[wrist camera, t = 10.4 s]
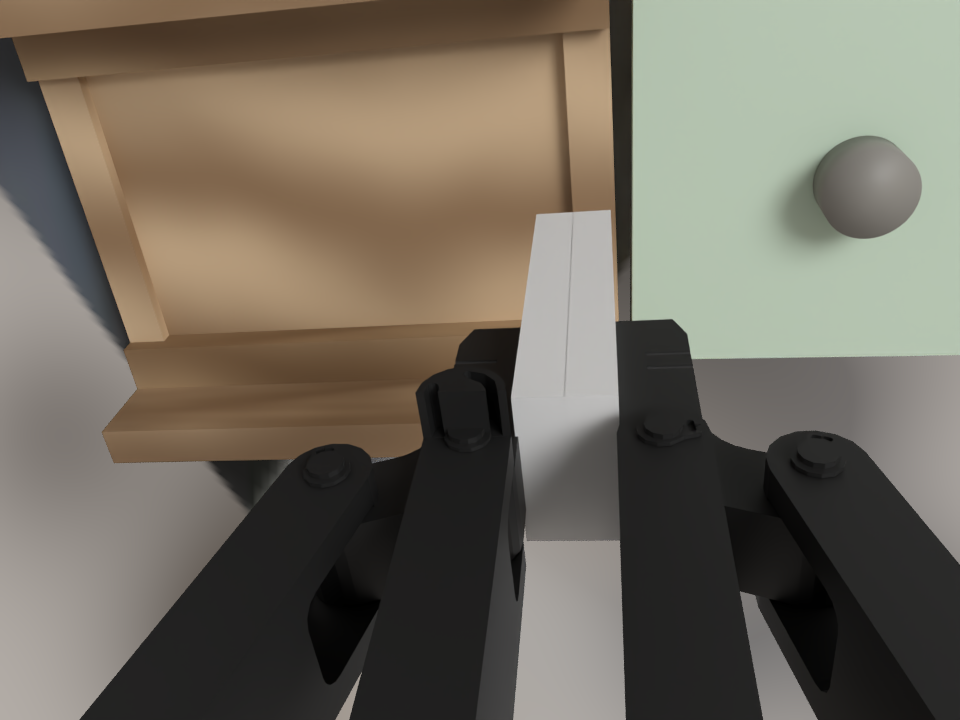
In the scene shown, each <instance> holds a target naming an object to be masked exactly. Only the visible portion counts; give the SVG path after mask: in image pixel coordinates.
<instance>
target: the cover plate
mask: <svg viewBox="0 0 960 720" xmlns="http://www.w3.org/2000/svg"><path fill="white" fill-rule="evenodd" d="M662 319H673V320H674V321H675V322H676V323H677V324H678V325H679V326H680V327H681V328H682V329H683V330H684V331H685V332H686V333H687V335H688V341H689V347H690V354H691V358H692V359H726V358H727V359H728V358H729V359H730V358H792V357H793V358H796V357H797V358H799V357H867V356H868V357H869V356H932V355H933V356H938V355H960V0H632V32H631V259H630V321H638V320H662Z"/></svg>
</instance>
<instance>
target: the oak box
mask: <svg viewBox="0 0 960 720" xmlns="http://www.w3.org/2000/svg"><path fill="white" fill-rule="evenodd" d="M9 37H12V40H13V43H14V46H15V48H16V51H17V54H18V57H19V60H20V62H21V65H22V68H23V71H24V74H25V76H26V79H27V82H31V81H39V84H40V87H41V90H42V93H43V95H44V98H45V101H46V104H47V107H48V110H49V113H50V115H51V118H52V121H53V124H54V127H55V130H56V132H57V135H58V138H59V141H60V144H61V147H62V149H63V152H64V155H65V158H66V161H67V164H68V167H69V169H70V172H71V175H72V178H73V181H74V184H75V186H76V189H77V192H78V195H79V198H80V201H81V204H82V206H83V209H84V212H85V215H86V218H87V221H88V223H89V226H90V229H91V232H92V235H93V238H94V240H95V243H96V246H97V249H98V252H99V255H100V258H101V260H102V263H103V266H104V269H105V272H106V275H107V277H108V280H109V283H110V286H111V289H112V292H113V294H114V297H115V300H116V303H117V306H118V309H119V312H120V314H121V317H122V320H123V323H124V326H125V329H126V331H127V334H128V337H129V340H130V344H129V345H128V346H127V347H126V348H125V349H124V353H125V356H126V358H127V361H128V364H129V367H130V370H131V372H132V375H133V378H134V381H135V384H136V386H137V390H136V391H135V393H134V394H133V395H132V396H131V397H130V398H129V400H128V401H127V402H126V403H125V404H124V406H123V407H122V408H121V409H120V411H119V412H118V413H117V414H116V415H115V417H114V418H113V419H112V420H111V421H110V423H109V424H108V425H107V426H106V427H105V429H104V430H103V431H102V434H103V437H104V439H105V442H106V444H107V447H108V449H109V452H110V454H111V457H112V459H113V462H114V463H136V462H183V461H233V460H280V459H296V458H297V457H298V456H299V455H301V454H303V453H305V452H307V451H309V450H311V449H313V448H316V447H320V446H324V445H329V444H350V445H353V446H357V447H360V448H362V449H363V450H364V451H365V452H366V453H368V454H369V455H370V458H375V457H400V456H404V455H407V454H409V453H411V452H413V451H415V450H417V449H419V448H421V446H422V442H423V433H422V428H421V422H420V417H419V411H418V405H417V400H416V394H415V392H416V391H417V389H418V388H419V386H420V384H421V383H422V382H423V381H425V380H426V379H428V378H429V377H431V376H432V375H434V374H436V373H439V372H442V371H444V370H447V369H451V368H454V364H455V360H456V356H457V352H458V348H459V344H460V343H461V342H462V341H463V340H464V339H465V338H466V337H467V336H468V335H469V334H470V333H471V332H472V331H473V330H474V329H493V328H518V327H521V322H522V315H523V308H524V300H525V293H526V286H527V279H528V272H529V264H530V257H531V250H532V243H533V236H534V228H535V221H536V214H550V213H566V212H583V211H599V210H611V229H612V252H613V276H614V300H615V321H619V311H618V279H617V247H616V216H615V184H614V152H613V120H612V88H611V56H610V16H609V0H0V38H9Z"/></svg>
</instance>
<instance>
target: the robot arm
mask: <svg viewBox="0 0 960 720" xmlns="http://www.w3.org/2000/svg"><path fill="white" fill-rule="evenodd" d="M415 394H416V400H417V405H418V411H419V417H420V422H421V428H422V433H423V442H422V446H421V448H419V449H417V450H415V451H413V452H411V453H409V454H407V455H404V456H400V457H397V458H394V459H390V460H385V461H381V462H377V463H373V464H372V462H371V458H370V455H369V454H368V453H366V452H365V451H364V450H363V449H362V448H360V447H357V446H353V445H350V444H329V445H324V446H320V447H316V448H313V449H311V450H309V451H307V452H305V453H303V454H301V455H299V456H298V457H297V458H296V459H295V460H293V461H292V462H291V463H290V464H289V465H288V466H287V467H286V468H285V470H284V471H283V472H282V473H281V474H280V476H279V477H278V478H277V479H276V481H275V482H274V483H273V484H272V485H271V487H270V488H269V489H268V490H267V492H266V493H265V494H264V495H263V496H262V498H261V499H260V500H259V501H258V503H257V504H256V505H255V506H254V507H253V509H252V510H251V511H250V512H249V514H248V515H247V516H246V517H245V518H244V520H243V521H242V522H241V523H240V524H239V526H238V527H237V528H236V529H235V531H234V532H233V533H232V534H231V536H230V537H229V538H228V539H227V541H226V542H225V543H224V544H223V545H222V546H221V548H220V549H219V550H218V551H217V553H216V554H215V555H214V556H213V557H212V559H211V560H210V561H209V562H208V564H207V565H206V566H205V567H204V568H203V570H202V571H201V572H200V573H199V575H198V576H197V577H196V578H195V580H194V581H193V582H192V583H191V584H190V586H189V587H188V588H187V589H186V590H185V592H184V593H183V594H182V595H181V596H180V598H179V599H178V600H177V601H176V603H175V604H174V605H173V606H172V607H171V609H170V610H169V611H168V613H167V614H166V615H165V616H164V617H163V618H162V620H161V621H160V622H159V623H158V625H157V626H156V627H155V628H154V630H153V631H152V632H151V633H150V634H149V636H148V637H147V638H146V639H145V640H144V642H143V643H142V644H141V645H140V647H139V648H138V649H137V650H136V651H135V653H134V654H133V655H132V656H131V658H130V659H129V660H128V661H127V662H126V664H125V665H124V666H123V667H122V669H121V670H120V671H119V672H118V673H117V675H116V676H115V677H114V678H113V679H112V681H111V682H110V683H109V684H108V686H107V687H106V688H105V689H104V691H103V692H102V693H101V694H100V695H99V697H98V698H97V699H96V700H95V701H94V703H93V704H92V705H91V706H90V708H89V709H88V710H87V711H86V712H85V714H84V715H83V716H82V717H81V719H80V720H335V719H336V717H337V715H338V714H339V712H340V710H341V708H342V706H343V705H344V703H345V701H346V699H347V697H348V695H349V694H350V692H351V690H352V688H353V686H354V685H355V683H356V681H357V679H358V677H359V675H360V674H361V672H362V674H361V677H360V681H359V685H358V689H357V693H356V696H355V701H354V704H353V708H352V712H351V715H350V719H349V720H513V713H514V702H515V690H516V678H517V666H518V654H519V643H520V631H521V618H522V607H523V595H524V583H525V571H526V562H525V552H524V544H523V538H524V528H526V538H527V541H575V540H576V541H584V540H585V541H587V540H589V541H595V540H620V548H621V549H620V550H621V582H622V611H623V644H624V674H625V705H626V706H625V707H626V720H763V717H762V711H761V706H760V701H759V695H758V689H757V684H756V678H755V673H754V668H753V662H752V656H751V651H750V645H749V640H748V635H747V629H746V623H745V618H744V612H743V607H742V601H741V596H740V591H741V592H745V593H749V594H753V595H755V596H756V599H757V603H758V607H759V609H760V611H761V613H762V615H763V617H764V619H765V621H766V622H767V624H768V626H769V628H770V630H771V632H772V634H773V636H774V637H775V639H776V641H777V643H778V645H779V647H780V649H781V651H782V653H783V655H784V656H785V658H786V660H787V662H788V664H789V666H790V668H791V670H792V672H793V673H794V675H795V677H796V679H797V681H798V683H799V685H800V686H801V689H802V691H803V692H804V694H805V696H806V698H807V700H808V702H809V704H810V706H811V708H812V709H813V711H814V713H815V715H816V717H817V719H818V720H960V565H959V563H958V562H957V561H956V560H955V559H954V557H953V556H952V555H951V554H950V552H949V551H948V550H947V549H946V548H945V546H944V545H943V544H942V543H941V542H940V541H939V539H938V538H937V537H936V536H935V535H934V533H933V532H932V531H931V530H930V529H929V527H928V526H927V525H926V524H925V523H924V521H923V520H922V519H921V518H920V517H919V515H918V514H917V513H916V512H915V511H914V509H913V508H912V507H911V506H910V505H909V503H908V502H907V501H906V500H905V499H904V497H903V496H902V495H901V494H900V493H899V491H898V490H897V489H896V488H895V487H894V485H893V484H892V483H891V482H890V481H889V479H888V478H887V477H886V476H885V475H884V473H883V472H882V471H881V470H880V469H879V467H878V466H877V465H876V464H875V463H874V461H873V460H872V459H871V458H870V457H869V456H868V454H867V453H866V452H865V451H864V450H862V449H861V448H860V447H859V446H857V445H856V444H855V443H854V442H853V441H850V440H848V439H845V438H843V437H841V436H838V435H836V434H831V433H825V432H820V431H798V432H794V433H791V434H787V435H784V436H781V437H779V438H778V439H777V440H776V441H774V442H773V443H772V444H771V445H770V446H769V449H768V451H767V453H765V452H761V451H755V450H750V449H746V448H742V447H738V446H734V445H732V444H730V443H728V442H725V441H723V440H721V439H720V438H718V437H717V436H715V435H714V434H712V433H711V431H710V429H709V427H708V426H707V423H706V422H705V420H703V419H702V415H701V409H700V404H699V398H698V392H697V387H696V381H695V375H694V369H693V364H692V358H691V354H690V347H689V341H688V335H687V333H686V332H685V331H684V330H683V329H682V328H681V327H680V326H679V325H678V324H677V323H676V322H675V321H674V320H673V319H662V320H638V321H615V300H614V276H613V252H612V229H611V210H599V211H583V212H566V213H550V214H536V221H535V228H534V236H533V243H532V250H531V257H530V264H529V272H528V279H527V286H526V293H525V300H524V308H523V315H522V322H521V327H518V328H493V329H474V330H473V331H472V332H471V333H470V334H469V335H468V336H467V337H466V338H465V339H464V340H463V341H462V342H461V343H460V344H459V348H458V352H457V356H456V360H455V364H454V368H451V369H447V370H444V371H442V372H439V373H436V374H434V375H432V376H431V377H429V378H428V379H426V380H425V381H423V382H422V383H421V384H420V386H419V388H418V389H417V391H416V392H415Z"/></svg>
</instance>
